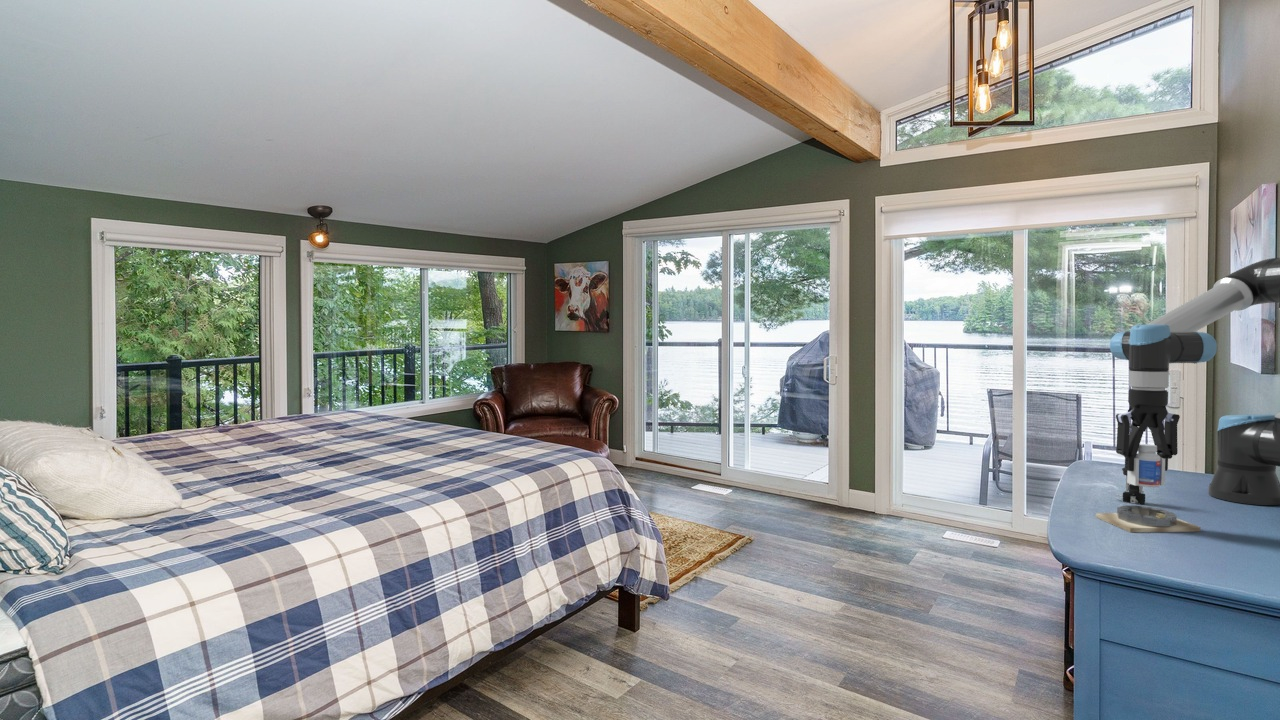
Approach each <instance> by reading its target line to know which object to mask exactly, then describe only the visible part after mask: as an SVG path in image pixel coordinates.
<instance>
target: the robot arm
mask: <svg viewBox="0 0 1280 720" xmlns="http://www.w3.org/2000/svg"><path fill="white" fill-rule="evenodd" d="M1270 303H1275V304H1276V303H1278V310H1279V311H1280V257H1272V258H1266V259H1262V260H1259V261H1257V262H1253V263H1251V264H1249V265H1247V266H1244V267H1241V268H1239V269H1238V270H1236V271H1233V272H1231V273H1230V274H1228V275H1226V276H1224V277H1222V278H1221V279H1218V280H1217V281H1216V282H1215V283H1214V284H1213V286H1212V288H1210V289H1208V290H1207V291H1205V292H1203V293H1201V294H1200V295H1198V296H1195V297H1194V298H1193V299H1190V300H1189V301H1187V302H1184V303H1183V304H1181V305H1179V306H1178V307H1176V308H1174V309H1171V310H1170V311H1168V312H1167V313H1165V314H1163V315H1162V316H1159V317H1158V318H1155V319H1154V320H1152V321H1150V322H1148V323H1146V324H1135V325H1133V326H1131V329H1130V331H1129V330H1126V331H1121V332H1118V333H1116V334H1114V335H1113V336H1112V337H1111V340H1110V341H1109V349H1110V353H1111V355H1112V356H1113V357H1115V358H1117V359H1119V360H1124V361H1128V363H1129V364H1128V365H1129V368H1128V369H1129V370H1128V386H1129V387H1130V389H1128V393H1127V394H1128V405H1129V408H1128V409H1127V411H1126V412H1124V413H1116V414H1115V419H1116V422H1117V427H1116V428H1117V429H1116V430H1117V431H1116V432H1117V433H1116V448H1115V450H1116V451H1115V452H1116V454H1118V455H1121V456H1123V457H1124V468H1125V470H1128V472H1127V483H1129V485H1130V484H1132V485H1135V486H1139V459H1138V458H1135V457H1136V454H1137V451H1138V448H1139V445H1140V444H1141V441H1142V437H1143V435H1144V433H1145V432H1146V431H1147V428H1148V430H1150V432H1151V436H1152V441H1153V443H1154V444H1153V445H1156V446H1157V452H1156V454H1157V455H1159V456H1160V460H1161V461H1160V486H1165V485H1166V484H1165V482H1166V478H1165V477H1166V472H1167V471H1168V469H1169V467H1168V466H1169V459H1170V460H1171V459H1172V458H1173V456H1177V455H1178V424H1179V421H1180V418H1181V415H1180V414H1176V413H1170V412H1168V410H1167V406H1168V404H1169V391H1168V390H1166V389H1168V388H1169V386H1170V385H1169V384H1170V382H1169V380H1170V379H1169V377H1170V376H1169V375H1170V374H1169V373H1170V364H1199V363H1206V362H1208V361H1211V360H1212V359H1213V358H1214V357H1215V355H1216V354H1217V349H1218V343H1217V341H1216V339H1215V338H1214V337H1213V335H1211V334H1209V333H1208V332H1204V331H1199V330H1201V329H1203V328H1205V327H1207V326H1208V325H1211V324H1213V323H1214V322H1216V321H1218V320H1219V319H1221V318H1223V317H1225V316H1227V315H1228V314H1230V313H1232V312H1234V311H1235V312H1236V311H1237V312H1238V311H1239V312H1240V311H1243V310H1246V309H1248V308H1250V307H1252V306H1255V305H1256V306H1257V305H1262V304H1263V305H1264V304H1270ZM1130 422H1131V423H1130ZM1163 422H1164V423H1163ZM1216 430H1217V431H1216V432H1217V464H1216V465H1217V466H1216V469H1215V472H1214V474H1213V477H1212V479H1211V483H1209V484H1208V495H1209V496H1210V497H1212V498H1216V499H1218V500H1223V501H1228V502H1233V503H1238V504H1248V505H1255V506H1256V505H1257V506H1278V505H1280V481H1279V478H1278V476H1277V472H1276V471H1277V467H1280V411H1279V412H1278V413H1276V414H1269V413H1268V414H1267V413H1265V414H1263V413H1261V414H1259V413H1258V414H1257V413H1255V414H1254V413H1252V414H1228V415H1223V416H1221V417H1220V418H1219V420H1218V425H1217V429H1216Z"/></svg>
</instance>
